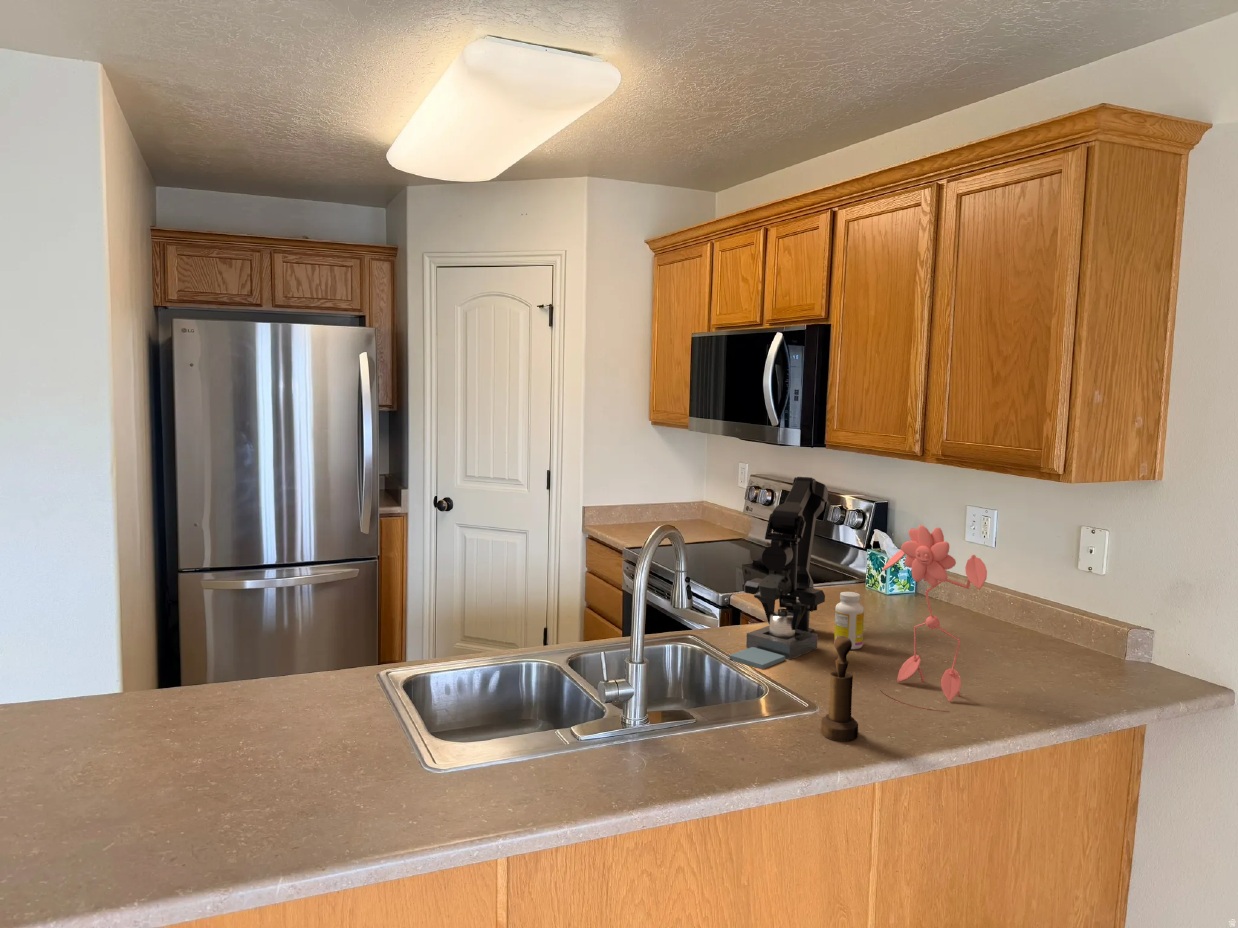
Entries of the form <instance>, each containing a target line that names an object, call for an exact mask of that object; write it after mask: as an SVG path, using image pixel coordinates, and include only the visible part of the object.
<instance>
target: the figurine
mask: <svg viewBox="0 0 1238 928" xmlns="http://www.w3.org/2000/svg"><path fill="white" fill-rule="evenodd" d="M908 536H909V538H910V540H907V541H905V542H903V543H902V545H901V546H900V550H899V551H896V553H895V554H893V556H892V557H890V558H889V560H888V561H887V562H886V564H885V565H884V566H883V568H882V571H886V570H888V569H889V568H892V567H893V566H894V565H896V564H897V563H899V561H900V560H901V559H903V558H904V556H905V559H904V565H905V567H907V568H910V569H911V576H912V579H913V581H914V582H916V583H919V582H921V581H922V580H923V581H924V582H927V583H928V584H929V585H930V587H929V588H927V589H926V590H925V591H924V594H925V598H926V603H927V606H928V611H929V615H930V616H928V617H926V619H925V622H922V623H920V624H916V625H914V626H913V655H912V656H910V657H909V658H908V659H906V661H904V663H902V665H901V667H900V668H899V670H898V675H897V678H896V679H897V680H896V682H897V683H900V682H904V681H906V680H908V679H910V678H911V677H912V676H914V675H915V674H916V673H917V671H918V673H919V677H920V680H921V682H922V683H924V682H925V681H926V680H925V678H924V675H923V672H922V669H921V667H920V665H921V663H922V660H921V658H922V657H921V656H920V655H919V654H917V630H916V629H917V628H918V627H921V626H927V628H929V630H930V629H931V630H936V629H939V630H940V631H942V632H943V633H945V634H947V635H949V636H950V637H951V638H953V639H955V640H956V641H958V642H957V645H956V650H955V655H954V658H953V663H952V667H950V668H947V669H945V671H944V673H943V674H942V676H941V678H940V679H941V681H940V685H941V691H942V692H943V694H944V695H945V697H946V699H947V700H948V702H951V701H952V700H953V699H954V698H956V696H957V697H961V692H960V689H961V686H962V679H961V676H960V674H959V672H958V671H957V670H956V669H955V665H956V662H957V658H958V653H959V649H960V646H961V639H959V638H957V637H956V636H955V635H953V634H952V633H949V632H948V631H946V630H945V629H943V628H942V627H940V625H941V621H940V619H939V618H938V617H937V616H935V615H933V613H932V607H931V602H930V597H929V592H930V591H932V590H933V589H935V588H936V587H937V586H939V585H940V584H941V583H943V582H945V583H946V582H948V583H950V584H953V585H956V586H958V587H961V588H965V589H967V590H969V588H970V585H971V584H972V585H973V586H974V587H976V589H978V590H981V589H982V588H983V586H984V585H985V582H986V580H987V578H988V577H987V576H988V570H987V567H986V564H985V563H984V561H983V560H982V559H981V557H980V558H979V557H977V555H975V554H972V555H971V556H970V558H968V559H967V560H966V564H965V567H964V568H965V570H964V571H965V575H966V577H967V581H966V584H963V583H960V582H957V581H954V580H951V579H948V577H949V576H948V573H947V570H951V569H953V568H954V567H955V566H956V564H957V562H956V561H957V560H956V559H955V558H954V557H953V556H952V555H950V554H949V552H950V543H949V542H948V541H945V538H944V537H945V536H944V533H943V530H942V528H941V527H938V526H936V527H935V528H934V529H933V530H932V532H931V533H930V531H929V529H928V528H927V527H925V525H922V524H920V525H918V529H917V528H910V529H909V530H908ZM880 692H881V693H882V694H884V695H885V696H886V697H888V698H890V699H892V700H893V701H895V702H897V703H899V704H900V703H901V704H903V705H906V706H910V707H914V708H918V709H920V710H925V711H926V710H928V711H936V712H941V710H939V709H931V708H925V707H919V706H917V705H912V704H908V703H906V702H902V701H900V700H897V699H895V698H893V697H891V696H889V695H887V694H886V693H884V692H883V691H882V690H880ZM942 712H943V713H944V712H945V713H950V712H951V711H950V710H942Z"/></svg>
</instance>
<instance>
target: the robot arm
mask: <svg viewBox="0 0 1238 928" xmlns="http://www.w3.org/2000/svg"><path fill="white" fill-rule="evenodd" d="M828 498H829V489H828V488H827V486H826V484H824V483H822V482H820V481H818V480H816V478H813V477H808V476H797V477H794V478H793V482H792V487H791V489H790V491H789V493H788V494H787V497H786V499H785V501H784V503H782V504H778V505H776V507H775V508H774V509H773V510H772V512H771V513H769V516H768V517H769V518H768V522H767V526H766V531H765V534H764V535H765V536H764V540H767V541H770V545H769V546H767V547H766V548H765V549H764V550H763V551H762V554H761V561H762V563H763V565H764V566H765V567H766V568H767V569H768V575H767V576H765V577H764V578H759V577H756V578H751V579H749V580H747V581H746V582H745V583H744V585H743V591H744V593H746V594H749V595H753V598H754V599H757V600H758V602H760V603H761V605H762V608H763V609H764V613H765V616H766V619H767V622H768V626H770V613H772V612H775V609H776V608H775V607H776V606H775V605H776V600H778V602H779V609H787V610H788V612H789V613H793V630H796V629H798V630H802V631H806V632H810V633H814V632H815V629H814V628H810V612H815V611H818V605H821V604H823V603H825V602H826V594H825V592H824V590H822V589H818V588H815V587H814V581H813V579H812V577H811V574H810V565H811V558H812V551H813V546H814V545H813V544H814V543H813V542H814V536H815V528H816V524H817V523H816V522H817V518H818V517H819V516H820V515H821V514H822V512H823V511H824V509H825V504H826V503H827V502H828Z"/></svg>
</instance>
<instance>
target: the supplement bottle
mask: <svg viewBox="0 0 1238 928" xmlns="http://www.w3.org/2000/svg"><path fill="white" fill-rule="evenodd" d="M839 599H840V602H838V603H837V604H836V605H835V611H834V612H835V613H834V614H835V615H834V634H833V635H834V639H833V640H834V643H835V640H836V638H837V637H839V636H845V637H848V638H849V639H850V640H851V642H852V647H851V650H859V649H861V648H863V645H864V643H863V642H864V621H865V619H864V617H865V608H864V606H863V605H862V604H861V603H860V601H861V594H860V593H858V592H854V591H843V592H842V591H841V592H840V593H839Z"/></svg>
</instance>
